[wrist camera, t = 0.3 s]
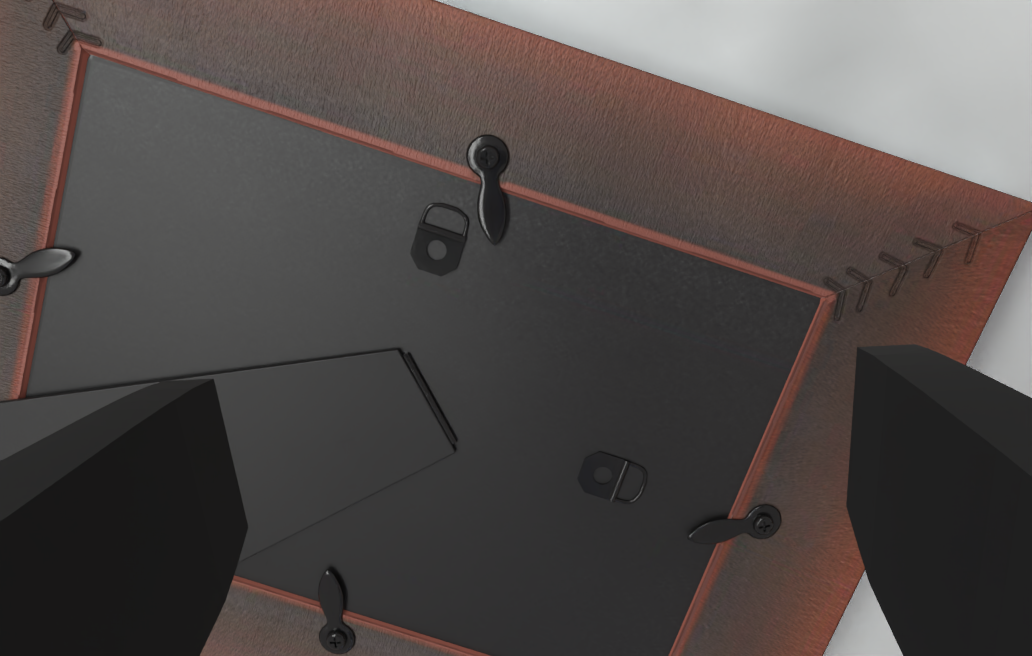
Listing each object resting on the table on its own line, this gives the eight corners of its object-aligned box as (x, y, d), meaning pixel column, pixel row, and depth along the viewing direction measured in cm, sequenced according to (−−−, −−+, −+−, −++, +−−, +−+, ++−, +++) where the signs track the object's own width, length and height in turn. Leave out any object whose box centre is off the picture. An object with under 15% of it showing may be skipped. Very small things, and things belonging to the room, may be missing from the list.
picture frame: (-83, 534, 25) (713, 782, 25) (-154, 586, 22) (727, 858, 23) (23, -142, 20) (993, 189, 21) (-51, -168, 17) (1049, 208, 18)
